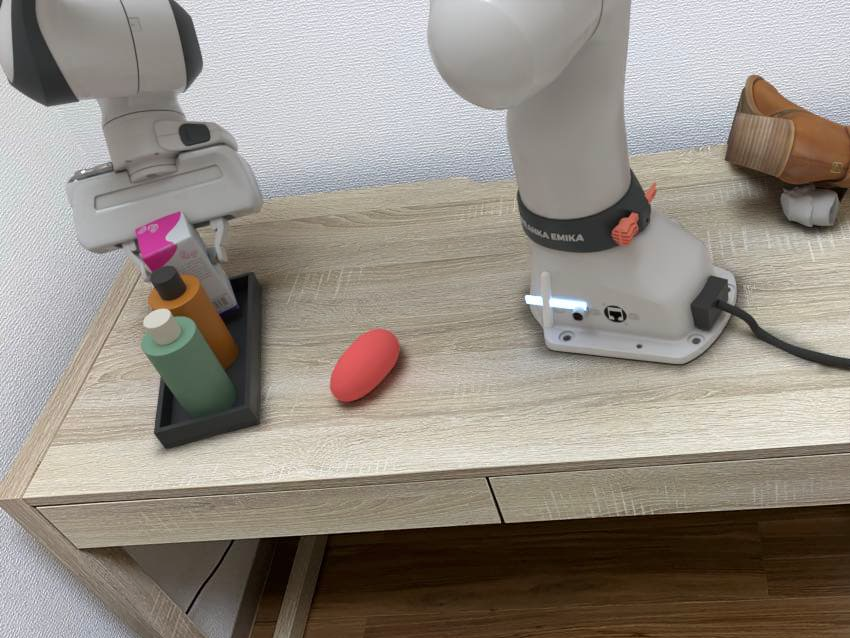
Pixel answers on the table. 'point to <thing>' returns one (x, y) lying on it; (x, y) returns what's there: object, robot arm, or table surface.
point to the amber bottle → (193, 310)
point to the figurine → (810, 205)
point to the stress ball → (364, 364)
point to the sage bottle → (187, 364)
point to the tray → (242, 373)
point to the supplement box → (185, 257)
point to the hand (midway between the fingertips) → (186, 272)
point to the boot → (787, 139)
